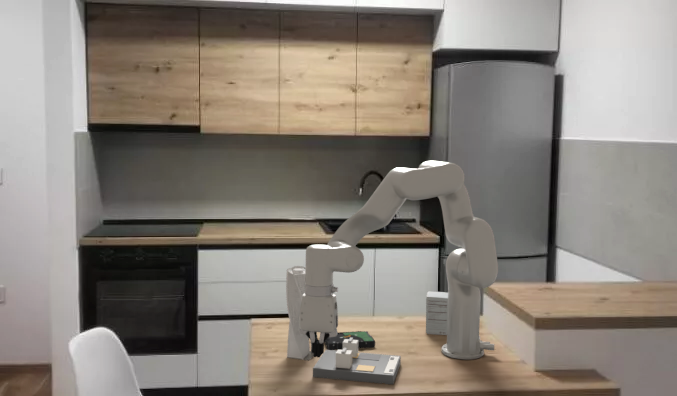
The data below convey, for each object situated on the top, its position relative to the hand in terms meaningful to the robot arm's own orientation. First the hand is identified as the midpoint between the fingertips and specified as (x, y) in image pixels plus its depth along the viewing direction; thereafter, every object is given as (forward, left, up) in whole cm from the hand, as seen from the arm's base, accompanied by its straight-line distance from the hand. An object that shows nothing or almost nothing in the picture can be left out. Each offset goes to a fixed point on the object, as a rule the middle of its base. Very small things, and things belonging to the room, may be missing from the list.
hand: (317, 355), depth 179 cm
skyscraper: (+9, -12, -6) cm, 16 cm away
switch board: (-10, -5, -5) cm, 12 cm away
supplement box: (-29, -45, -5) cm, 54 cm away
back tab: (-7, -9, -2) cm, 12 cm away
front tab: (-7, 0, -2) cm, 8 cm away
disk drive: (-3, -26, -6) cm, 27 cm away
